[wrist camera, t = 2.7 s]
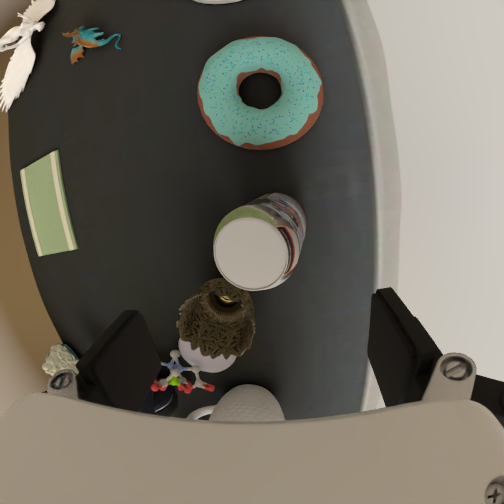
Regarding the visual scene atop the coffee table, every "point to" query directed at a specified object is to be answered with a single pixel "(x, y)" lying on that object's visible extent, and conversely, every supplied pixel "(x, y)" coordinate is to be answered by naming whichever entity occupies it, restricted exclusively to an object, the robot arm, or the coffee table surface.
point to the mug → (243, 406)
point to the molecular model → (174, 380)
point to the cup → (218, 319)
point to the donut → (249, 118)
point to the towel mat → (48, 206)
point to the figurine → (22, 50)
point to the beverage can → (260, 242)
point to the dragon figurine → (86, 41)
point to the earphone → (160, 401)
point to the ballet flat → (60, 359)
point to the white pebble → (204, 359)
